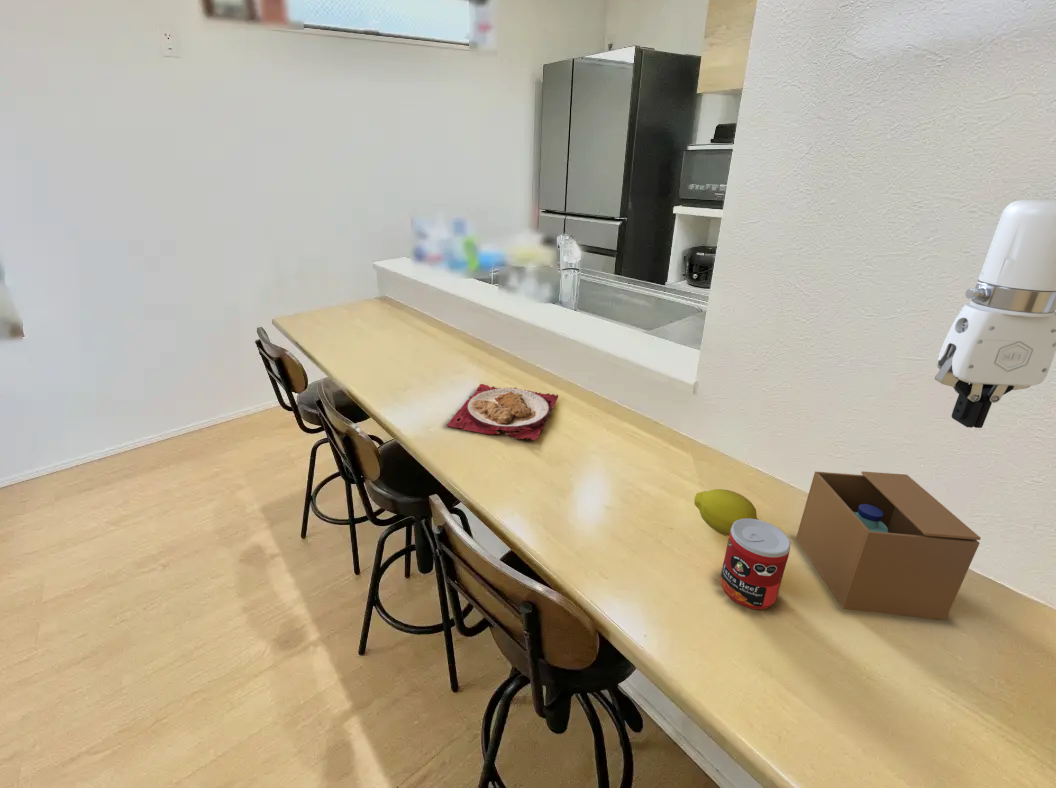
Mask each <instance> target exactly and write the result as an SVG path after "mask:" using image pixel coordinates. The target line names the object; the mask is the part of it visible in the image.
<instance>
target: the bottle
mask: <svg viewBox="0 0 1056 788" xmlns="http://www.w3.org/2000/svg"><path fill="white" fill-rule="evenodd" d="M854 513H855V514H856V516H857V517H858V518H859V519H860V520H861V521H862V522H863V523H864V525H865V526H866V527H867V528H868V529H869V530H870V531H876V532H886V533H888V528H887V527H886V525H885V524H884V523H883V522H881V520H882V518H883V515H884V514H883V512H882V511H881V510H880V509H878V508H877V507H875V506H872V505H868V504H861V505H859V508H858V512H854Z"/></svg>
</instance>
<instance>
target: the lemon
mask: <svg viewBox="0 0 1056 788" xmlns="http://www.w3.org/2000/svg"><path fill="white" fill-rule="evenodd" d="M694 506H695V507H696V508H697V509H698V510H699V514H700V516H701V518H702V520H703V521H704V522H705V524H706V525H707V526H708V527H710V528H711V529H713V530H714V531H716V532H717V533H718V534H721V535H724V536H727V537H729V535H730V531H731V528H732V525H733V523H734V522H735V521H737V520H740V519H746V518H747V519H757V520H759V518H758V515H757V509H756V507H755V506H754V504H753V503H752V502H751V500H749V499H748V498H747V497H746V496H744V495H742V494H740V493H738V492H736V491H734V490H730V489H725V488H724V489H722V488H715V489H710V490H705V491H700V492H696V494H695V495H694Z"/></svg>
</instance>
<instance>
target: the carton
mask: <svg viewBox="0 0 1056 788" xmlns="http://www.w3.org/2000/svg"><path fill="white" fill-rule="evenodd" d="M861 504H868V505H872V506H875V507H877V508H878V509H880V510H881V511H882V512H883V514H884V515H883V518H882V520H881V522H883V523H884V524H885V525H886V527H887V528H888V533H886V532H876V531H870V530H869V529H868V528H867V527H866V526H865V525H864V523H863V522H862V521H861V520H860V519H859V518H858V517H857V516H856V514H855V513H854V512H858V508H859V505H861ZM795 540H796V541H797V543H798V544H799V546H800V547H801V549H802V550H803V552H804V553H805V555H806V556H807V558H808V559H809V561H810V562H811V564H812V565H813V566H814V568H815V569H816V571H817V573H818V574H819V575H820V577H821V578H822V580H823V581H824V583H825V584H826V586H827V588H828V589H829V591H830V592H831V593H832V595H833V597H834V598H835V599H836V601H837V602H838V603H839V605H840V606H841V608H842V609H846V610H851V611H853V610H854V611H862V612H869V613H879V614H880V613H881V614H888V615H889V614H890V615H897V616H905V617H914V618H922V619H930V620H940V621H946V620H947V618H948V616H949V613H950V611H951V609H952V606H953V605H954V603H955V600H956V597H957V595H958V593H959V591H960V589H961V586H962V584H963V582H964V579H965V578H966V575H967V573H968V570H969V568H970V566H971V564H972V562H973V559H974V557H975V555H976V553H977V551H978V548H979V546H980V544H981V543H980V541H979V540H973V539H961V538H950V537H938V536H927V535H924V534H923V533H922V532H921V531H920V530H919V529H918V528H917V527H916V526H915V525H914V524H913V523H912V522H911V521H910V520H909V519H908V518H907V517H906V516H905V515H904V514H902V513H901V512H900V511H899V510H898V509H897V508H896V507H895V506H894V505H893V504H892V503H891V502H890V501H889V500H888V499H887V498H886V497H885V496H884V495H883V494H882V493H881V492H880V491H879V490H878V489H877V488H876V487H875V486H874V485H873V484H872V483H871V482H870V481H869V480H868V479H867V478H866V477H865V476H863V475H862V474H852V473H841V472H826V471H814V473H813V477H812V481H811V484H810V486H809V491H808V495H807V499H806V501H805V506H804V509H803V513H802V516H801V519H800V523H799V526H798V530H797V533H796V537H795Z"/></svg>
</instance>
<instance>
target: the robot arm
mask: <svg viewBox="0 0 1056 788" xmlns="http://www.w3.org/2000/svg"><path fill="white" fill-rule="evenodd" d="M964 294H965V297H966V298H967V299H969V300H970V301H969V303H964V305H963V307H961V310H960V311H959V312H958V314H957V316H956V317H955V319H954V320H953V322H952V325H951V326H950V328H949V330H948V332H947V334H946V337H944V338H945V339H944V341H943V344H942V345H941V349H940V350H939V354H938V357H937V361H936V367H937V369H939V370H938V372H937V373H936V374H935V376H934V380H935V381H936V382H938V383H940V384H942V385H943V386H944V385H945V386H948V387H952V388H953V389H954V392H955V393H956V394H958V396H957V398H956V401H955V404H954V405H953V406H954V407H953V409H952V413H951V418H952V419H953V420H954V421H956V422H957V423H959V424H961V425H962V426H964V427H965V428H975V429H982V428H983V427H984V424H985V421H986V420H987V417H988V415H989V412H990V409H991V407H992V404H996V403H999V402H1000V400H1001V399H1002V398H1003V396H1005V395H1006V394H1008V393H1010V392H1011V391H1017V390H1018V391H1019V390H1026V389H1029V388H1031V387H1032V386H1036V385H1040V384H1042V383H1043V382H1044V381H1045V379H1046V378H1047V376H1048V374H1049V372H1050V368H1051V365H1052V363H1053V360H1054V357H1055V354H1056V199H1053V198H1052V199H1050V198H1049V199H1048V198H1028V199H1019V200H1014V201H1012V202H1010V203H1009V204H1008V205H1006V207H1005V208H1004V209H1003V210H1002V212H1001V215H1000V217H999V221H998V223H997V226H996V229H995V232H994V234H993V237H992V240H991V243H990V245H989V248H988V251H987V253H986V257H985V260H984V263H983V264H982V267H981V271H980V273H979V276H978V280H977V282H976V285H975V288H968V289H967V290H966V292H965V293H964Z"/></svg>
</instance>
